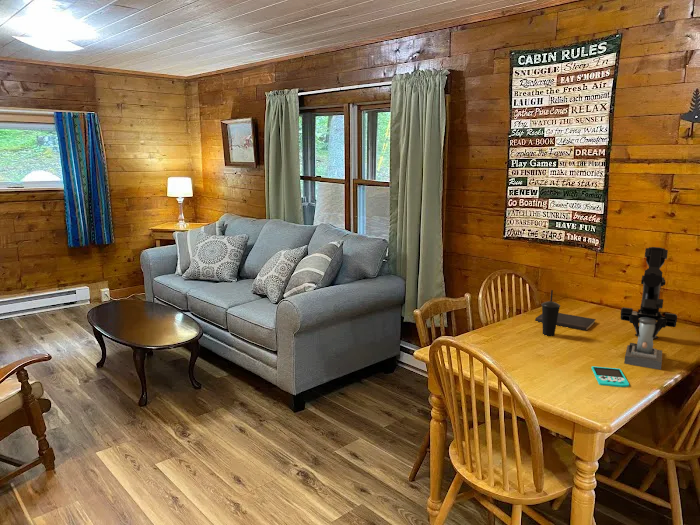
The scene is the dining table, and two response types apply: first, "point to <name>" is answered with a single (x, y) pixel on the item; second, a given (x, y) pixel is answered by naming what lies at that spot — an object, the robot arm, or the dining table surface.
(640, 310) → the robot arm
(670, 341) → the dining table surface
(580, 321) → the hardcover book
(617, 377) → the handheld game console
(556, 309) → the drinking cup
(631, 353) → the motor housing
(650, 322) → the grey capped cylinder
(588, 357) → the dining table surface
